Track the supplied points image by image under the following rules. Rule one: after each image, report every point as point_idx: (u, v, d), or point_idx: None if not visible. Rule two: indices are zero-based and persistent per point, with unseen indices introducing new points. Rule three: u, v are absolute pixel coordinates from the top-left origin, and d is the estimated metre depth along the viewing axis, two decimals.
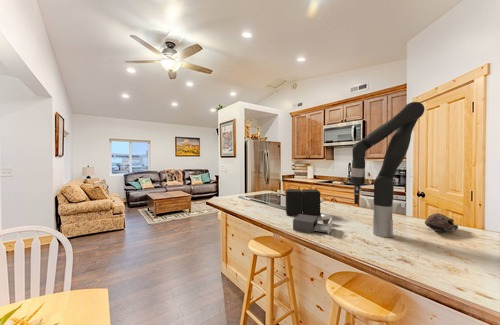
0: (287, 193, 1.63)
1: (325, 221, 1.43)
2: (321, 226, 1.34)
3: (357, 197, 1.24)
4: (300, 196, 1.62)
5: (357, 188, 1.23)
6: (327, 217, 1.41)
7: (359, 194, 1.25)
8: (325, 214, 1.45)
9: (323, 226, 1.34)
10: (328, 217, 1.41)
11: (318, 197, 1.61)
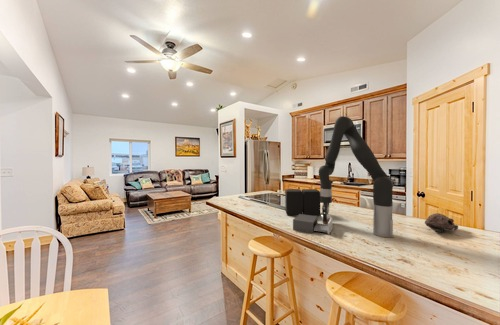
0: (287, 193, 1.63)
1: None
2: (321, 226, 1.34)
3: (325, 215, 1.39)
4: (300, 196, 1.62)
5: (324, 208, 1.38)
6: (327, 217, 1.41)
7: (327, 212, 1.41)
8: None
9: (323, 226, 1.34)
10: (328, 217, 1.41)
11: (318, 197, 1.62)
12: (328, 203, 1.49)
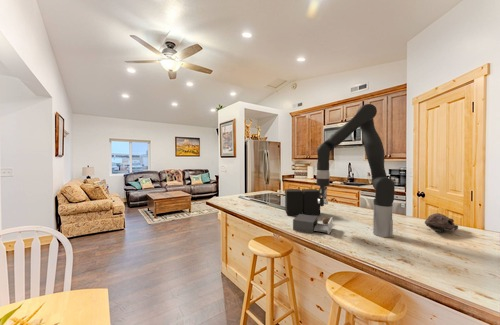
0: (287, 193, 1.63)
1: (325, 221, 1.43)
2: (321, 226, 1.34)
3: (322, 199, 1.26)
4: (300, 196, 1.63)
5: (321, 191, 1.25)
6: (324, 201, 1.28)
7: (324, 196, 1.28)
8: None
9: (323, 226, 1.34)
10: (325, 201, 1.28)
11: (318, 197, 1.62)
12: (326, 187, 1.36)
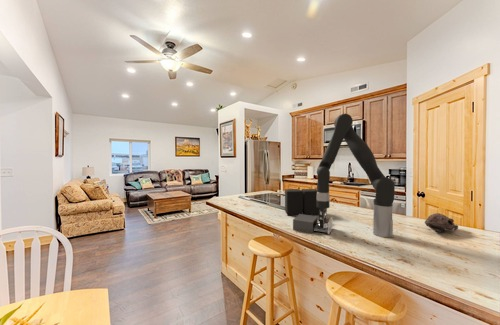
0: (288, 193, 1.63)
1: None
2: None
3: (321, 221, 1.25)
4: (300, 196, 1.63)
5: (321, 213, 1.25)
6: (324, 227, 1.28)
7: (324, 218, 1.27)
8: None
9: None
10: (325, 227, 1.28)
11: None
12: (325, 207, 1.36)
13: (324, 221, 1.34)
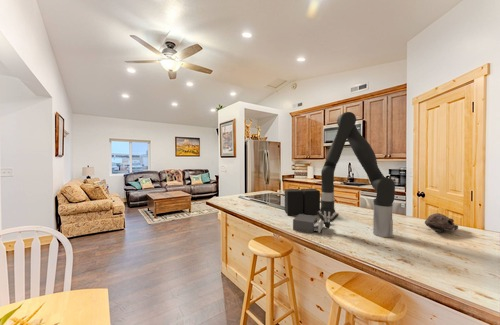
0: (288, 193, 1.63)
1: None
2: None
3: (323, 220, 1.30)
4: (301, 196, 1.63)
5: None
6: (315, 225, 1.31)
7: (325, 218, 1.29)
8: None
9: None
10: (316, 225, 1.31)
11: (318, 196, 1.64)
12: (336, 214, 1.26)
13: None
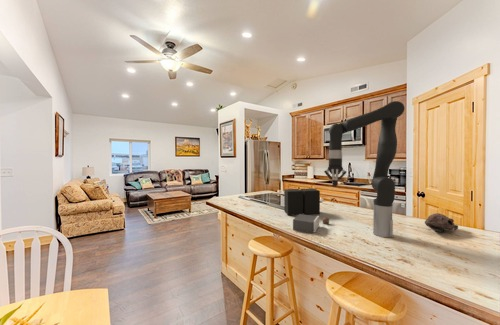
0: (288, 193, 1.63)
1: (325, 221, 1.43)
2: None
3: None
4: (301, 196, 1.64)
5: None
6: None
7: (333, 176, 1.29)
8: None
9: None
10: None
11: (318, 196, 1.65)
12: (344, 171, 1.27)
13: None
